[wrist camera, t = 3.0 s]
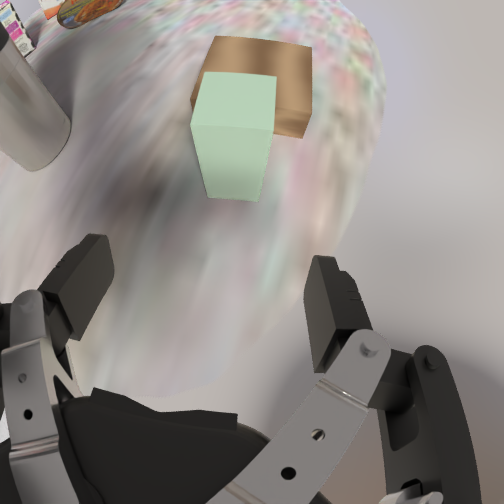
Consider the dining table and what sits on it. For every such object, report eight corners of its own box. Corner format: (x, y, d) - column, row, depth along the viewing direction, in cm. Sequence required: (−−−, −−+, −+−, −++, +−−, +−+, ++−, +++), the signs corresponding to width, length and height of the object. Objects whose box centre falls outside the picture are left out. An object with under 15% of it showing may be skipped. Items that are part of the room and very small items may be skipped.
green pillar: (207, 197, 27) (190, 124, 15) (214, 154, 28) (204, 71, 16) (258, 201, 27) (273, 130, 15) (262, 158, 28) (276, 76, 16)
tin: (64, 34, 33) (51, 8, 25) (64, 29, 33) (53, 4, 25) (128, 4, 35) (121, -25, 27) (127, 0, 35) (119, -27, 27)
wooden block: (195, 126, 29) (190, 98, 24) (216, 62, 31) (215, 35, 26) (301, 140, 29) (311, 113, 24) (304, 73, 32) (311, 47, 27)
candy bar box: (37, 47, 32) (10, 1, 16) (20, 62, 31) (-10, 17, 15) (29, 38, 33) (6, -2, 17) (14, 52, 33) (-11, 13, 16)
